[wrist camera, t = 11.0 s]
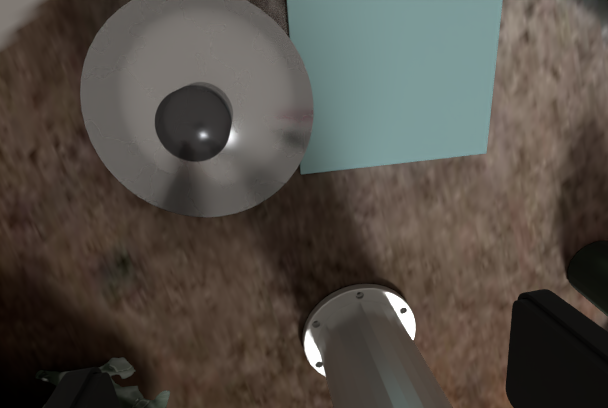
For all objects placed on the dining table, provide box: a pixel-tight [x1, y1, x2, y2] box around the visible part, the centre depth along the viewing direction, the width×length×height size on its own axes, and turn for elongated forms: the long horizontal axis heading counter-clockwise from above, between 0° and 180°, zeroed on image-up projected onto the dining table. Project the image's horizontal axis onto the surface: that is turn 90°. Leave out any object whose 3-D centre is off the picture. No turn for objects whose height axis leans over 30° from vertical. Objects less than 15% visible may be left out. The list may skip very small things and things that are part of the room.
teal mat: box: [287, 0, 503, 174], centre depth 32 cm, size 18×18×1 cm
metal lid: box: [80, 0, 314, 217], centre depth 23 cm, size 15×15×6 cm
